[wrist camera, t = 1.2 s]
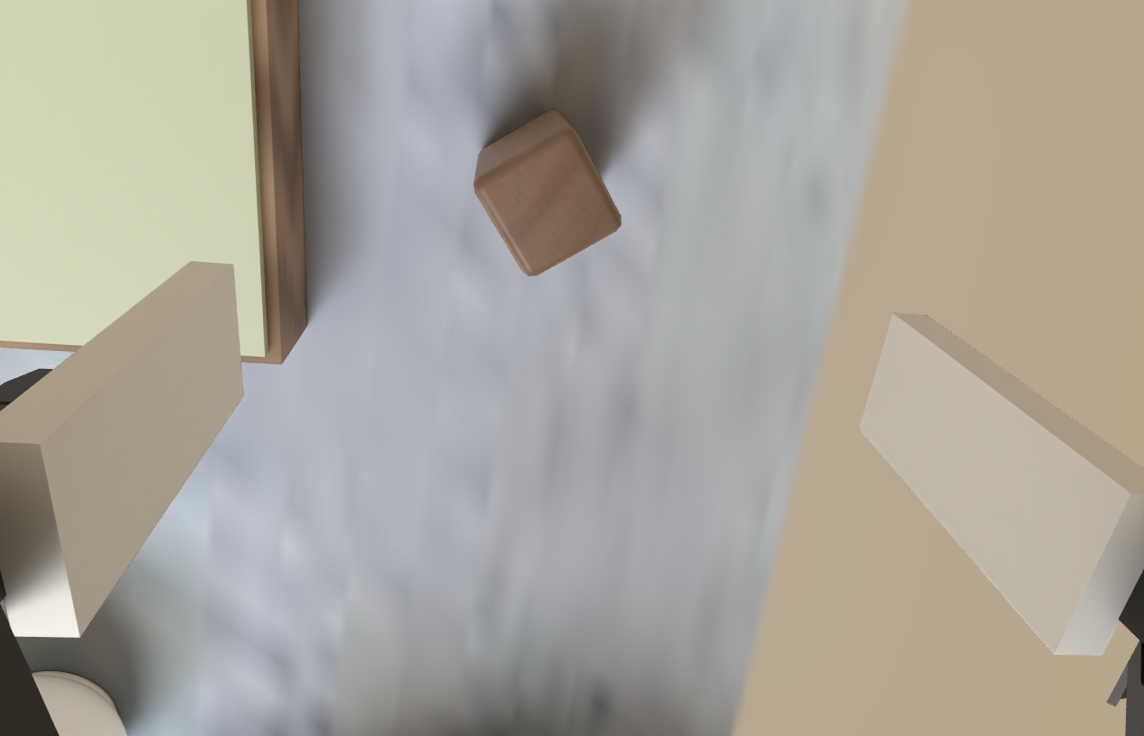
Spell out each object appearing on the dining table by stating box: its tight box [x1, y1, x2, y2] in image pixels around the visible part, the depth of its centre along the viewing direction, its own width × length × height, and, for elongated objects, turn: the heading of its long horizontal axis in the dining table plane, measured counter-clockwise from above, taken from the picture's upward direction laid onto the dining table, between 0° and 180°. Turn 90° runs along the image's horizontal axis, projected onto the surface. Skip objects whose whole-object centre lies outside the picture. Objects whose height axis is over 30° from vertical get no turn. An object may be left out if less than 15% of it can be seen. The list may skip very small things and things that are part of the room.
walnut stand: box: [0, 0, 307, 364], centre depth 29 cm, size 18×12×5 cm, turn 174°
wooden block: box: [474, 110, 621, 276], centre depth 30 cm, size 4×4×8 cm
